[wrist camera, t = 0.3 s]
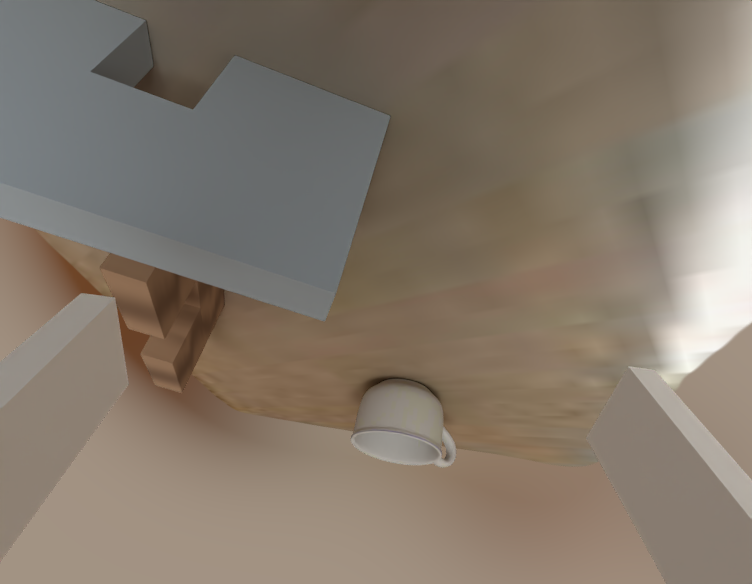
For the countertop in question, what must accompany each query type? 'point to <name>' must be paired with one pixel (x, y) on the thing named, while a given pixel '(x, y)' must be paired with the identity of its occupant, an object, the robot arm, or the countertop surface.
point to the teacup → (402, 425)
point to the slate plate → (179, 158)
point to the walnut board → (164, 315)
